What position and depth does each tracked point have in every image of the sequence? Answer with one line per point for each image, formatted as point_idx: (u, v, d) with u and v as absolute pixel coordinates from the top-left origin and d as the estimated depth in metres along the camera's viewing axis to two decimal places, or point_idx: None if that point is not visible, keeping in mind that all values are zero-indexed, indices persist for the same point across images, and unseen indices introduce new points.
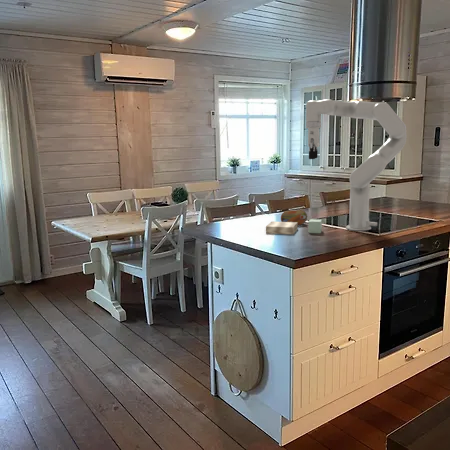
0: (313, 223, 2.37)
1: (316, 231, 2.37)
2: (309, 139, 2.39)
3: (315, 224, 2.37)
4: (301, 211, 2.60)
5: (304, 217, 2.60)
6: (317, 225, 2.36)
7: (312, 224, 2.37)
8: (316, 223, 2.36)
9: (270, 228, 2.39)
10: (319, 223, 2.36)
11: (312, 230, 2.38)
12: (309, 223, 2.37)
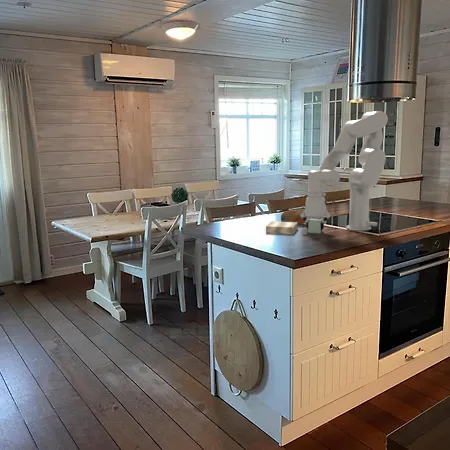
0: (313, 223, 2.37)
1: (316, 231, 2.37)
2: (324, 209, 2.35)
3: (315, 224, 2.37)
4: (301, 211, 2.60)
5: None
6: (317, 225, 2.36)
7: (312, 224, 2.37)
8: (316, 223, 2.36)
9: (270, 228, 2.39)
10: (319, 223, 2.36)
11: (312, 229, 2.38)
12: (309, 223, 2.37)
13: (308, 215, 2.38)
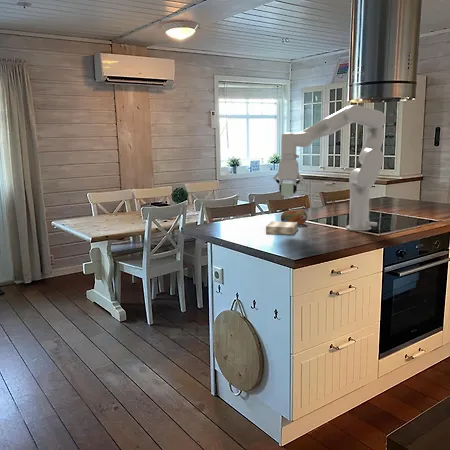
0: (286, 185, 2.37)
1: (289, 193, 2.37)
2: (297, 171, 2.35)
3: (288, 186, 2.36)
4: (301, 211, 2.60)
5: (304, 217, 2.60)
6: (290, 187, 2.36)
7: (285, 186, 2.37)
8: (289, 185, 2.36)
9: (270, 228, 2.39)
10: (292, 185, 2.36)
11: (285, 192, 2.37)
12: (282, 185, 2.37)
13: (281, 178, 2.38)
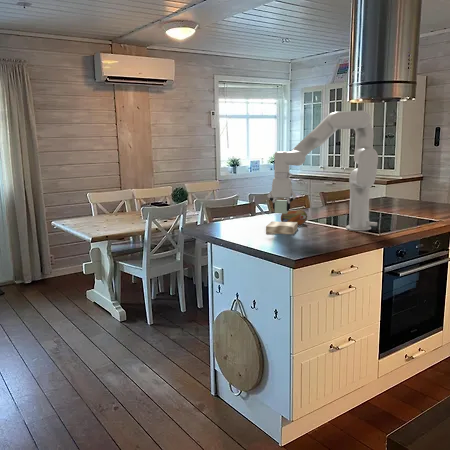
0: (279, 203, 2.39)
1: (282, 211, 2.40)
2: (290, 190, 2.38)
3: (281, 204, 2.39)
4: (301, 211, 2.60)
5: (304, 217, 2.60)
6: (283, 205, 2.39)
7: (278, 204, 2.39)
8: (282, 203, 2.39)
9: (270, 228, 2.39)
10: (285, 203, 2.38)
11: (278, 210, 2.40)
12: (275, 203, 2.40)
13: (274, 196, 2.40)
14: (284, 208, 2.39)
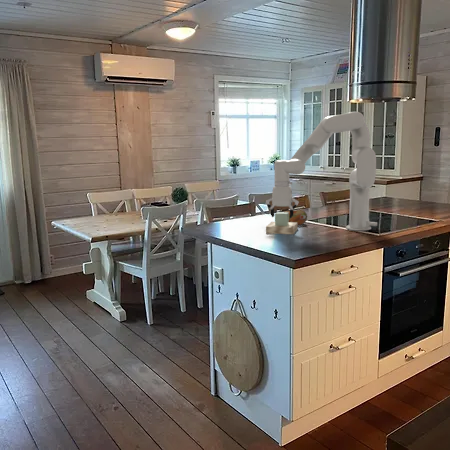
0: (279, 215, 2.40)
1: (282, 223, 2.41)
2: (290, 198, 2.39)
3: (281, 216, 2.40)
4: (301, 211, 2.60)
5: (304, 217, 2.60)
6: (283, 217, 2.40)
7: (278, 216, 2.41)
8: (282, 215, 2.40)
9: (270, 228, 2.39)
10: (285, 215, 2.40)
11: (279, 222, 2.41)
12: (276, 215, 2.41)
13: (275, 204, 2.41)
14: (284, 220, 2.40)
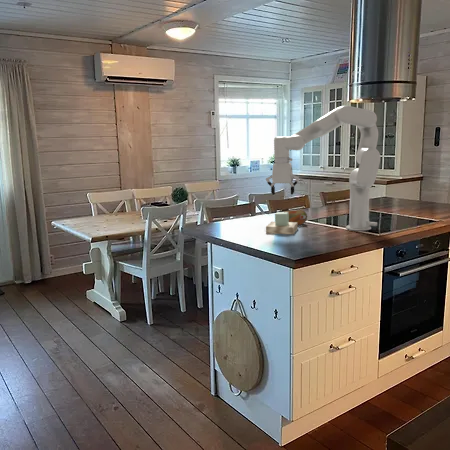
0: (279, 215, 2.40)
1: (283, 223, 2.40)
2: (291, 175, 2.36)
3: (281, 216, 2.40)
4: (301, 211, 2.60)
5: (304, 217, 2.60)
6: (283, 217, 2.40)
7: (279, 216, 2.40)
8: (282, 215, 2.40)
9: (270, 228, 2.39)
10: (285, 215, 2.39)
11: (279, 222, 2.41)
12: (276, 216, 2.41)
13: (275, 181, 2.39)
14: (285, 220, 2.40)
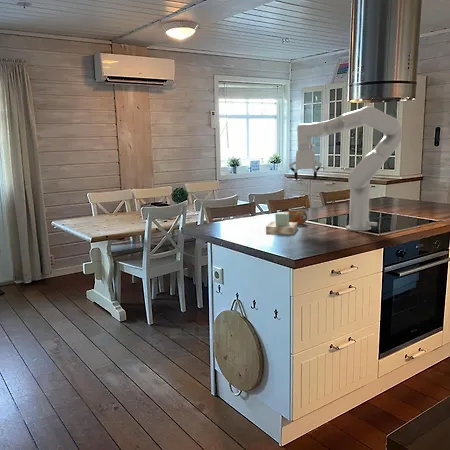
0: (280, 215, 2.40)
1: (283, 223, 2.41)
2: (314, 160, 2.46)
3: (282, 216, 2.40)
4: (301, 211, 2.60)
5: (304, 217, 2.60)
6: (284, 217, 2.40)
7: (279, 216, 2.41)
8: (283, 215, 2.40)
9: (270, 228, 2.39)
10: (286, 215, 2.40)
11: (279, 222, 2.41)
12: (276, 215, 2.41)
13: (299, 167, 2.48)
14: (285, 220, 2.40)
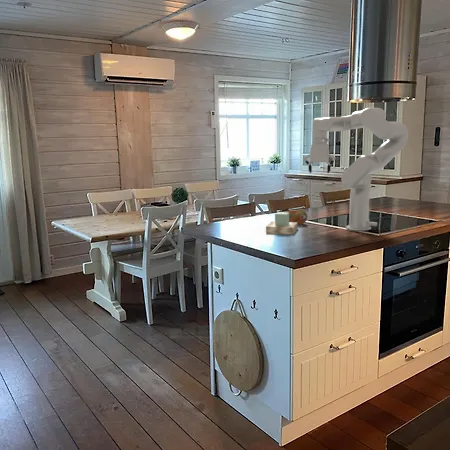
0: (279, 216, 2.40)
1: (282, 223, 2.41)
2: (328, 154, 2.53)
3: (281, 217, 2.40)
4: (301, 211, 2.60)
5: (304, 217, 2.60)
6: (283, 217, 2.40)
7: (278, 216, 2.41)
8: (282, 216, 2.40)
9: (270, 228, 2.39)
10: (285, 216, 2.39)
11: (279, 222, 2.41)
12: (276, 215, 2.41)
13: (313, 160, 2.55)
14: (284, 220, 2.40)
